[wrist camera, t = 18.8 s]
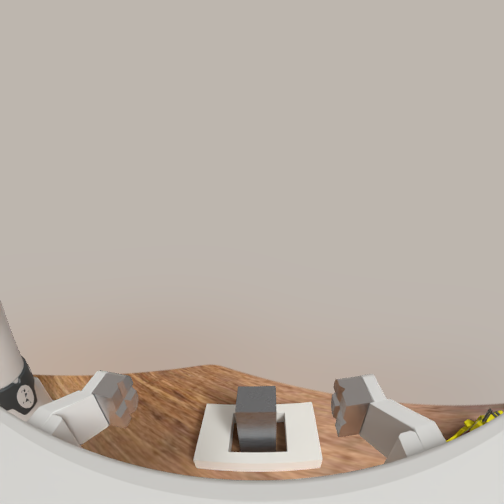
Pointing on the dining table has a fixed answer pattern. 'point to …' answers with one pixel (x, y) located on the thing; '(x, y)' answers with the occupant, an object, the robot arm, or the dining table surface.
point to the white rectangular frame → (221, 458)
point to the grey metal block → (256, 418)
